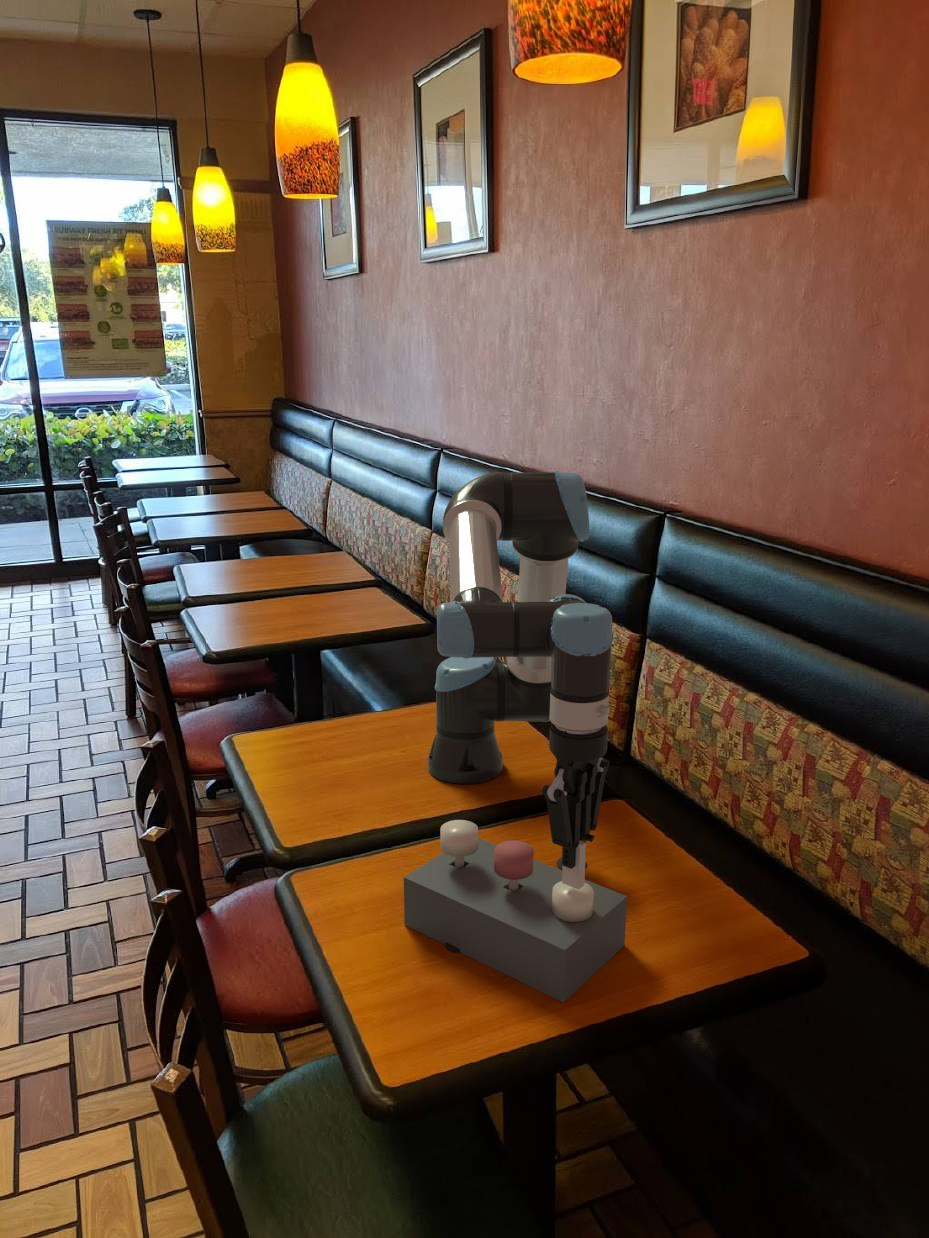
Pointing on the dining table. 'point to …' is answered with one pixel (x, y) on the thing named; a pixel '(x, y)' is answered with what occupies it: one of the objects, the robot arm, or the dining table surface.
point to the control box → (513, 921)
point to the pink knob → (513, 861)
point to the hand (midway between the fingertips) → (573, 883)
